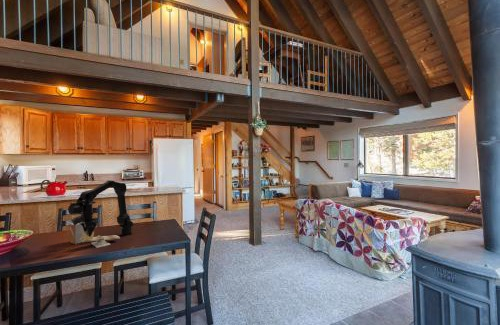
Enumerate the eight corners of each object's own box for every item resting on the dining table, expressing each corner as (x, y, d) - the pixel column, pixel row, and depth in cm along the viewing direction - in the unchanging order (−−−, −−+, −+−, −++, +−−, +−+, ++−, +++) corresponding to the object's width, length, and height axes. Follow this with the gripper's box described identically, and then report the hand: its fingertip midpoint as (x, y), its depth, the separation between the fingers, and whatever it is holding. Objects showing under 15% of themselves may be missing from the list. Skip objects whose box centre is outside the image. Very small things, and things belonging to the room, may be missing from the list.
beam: (116, 236, 178) (116, 235, 178) (119, 238, 173) (119, 237, 173) (79, 239, 162) (80, 238, 162) (82, 241, 157) (83, 240, 157)
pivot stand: (104, 240, 175) (104, 233, 175) (110, 244, 166) (110, 237, 166) (91, 243, 169) (91, 236, 169) (96, 247, 161) (96, 240, 161)
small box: (69, 242, 172) (68, 223, 172) (79, 239, 178) (78, 221, 178) (75, 244, 168) (75, 224, 168) (85, 241, 174) (85, 222, 174)
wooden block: (90, 237, 166) (91, 230, 166) (93, 239, 162) (94, 232, 163) (82, 238, 162) (83, 231, 163) (84, 239, 159) (85, 232, 159)
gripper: (69, 211, 163) (69, 235, 163) (76, 215, 150) (76, 241, 150) (88, 208, 171) (89, 231, 171) (97, 212, 158) (97, 237, 158)
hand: (87, 235), depth 162 cm, fingers open, 9 cm apart
